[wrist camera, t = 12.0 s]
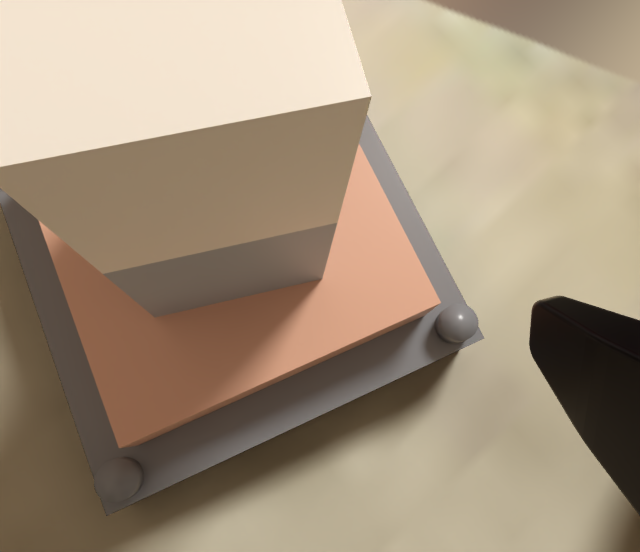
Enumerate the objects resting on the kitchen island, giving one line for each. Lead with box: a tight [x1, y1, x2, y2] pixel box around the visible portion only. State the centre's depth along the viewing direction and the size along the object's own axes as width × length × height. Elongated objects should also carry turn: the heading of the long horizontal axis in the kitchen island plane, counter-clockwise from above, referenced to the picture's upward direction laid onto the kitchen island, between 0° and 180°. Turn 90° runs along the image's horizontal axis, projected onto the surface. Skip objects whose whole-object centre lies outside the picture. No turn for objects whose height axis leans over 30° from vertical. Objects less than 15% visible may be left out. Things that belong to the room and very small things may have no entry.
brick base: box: [0, 115, 484, 516], centre depth 19 cm, size 13×13×4 cm
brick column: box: [0, 0, 372, 317], centre depth 12 cm, size 5×5×10 cm
